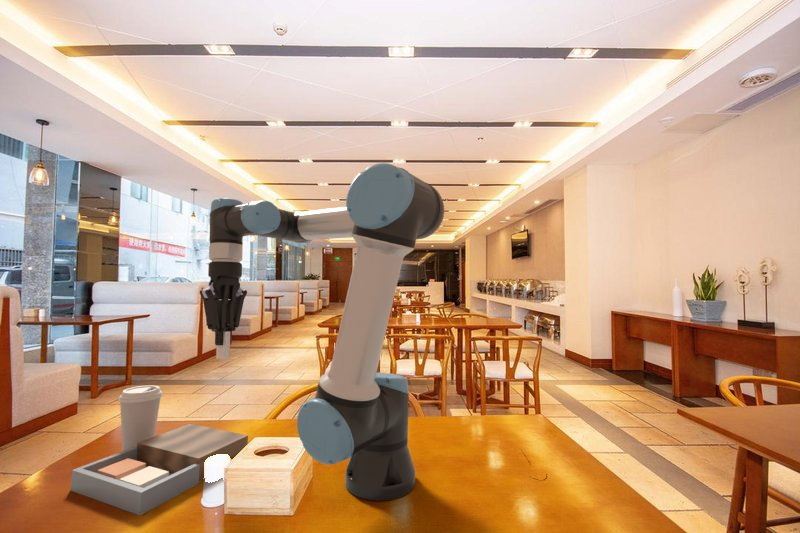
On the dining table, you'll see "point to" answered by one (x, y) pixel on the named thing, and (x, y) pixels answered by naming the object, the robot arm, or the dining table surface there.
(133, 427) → the coffee cup
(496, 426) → the dining table surface
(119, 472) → the terracotta tile
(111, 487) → the box
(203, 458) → the dark brown wooden slab
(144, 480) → the cream tile
